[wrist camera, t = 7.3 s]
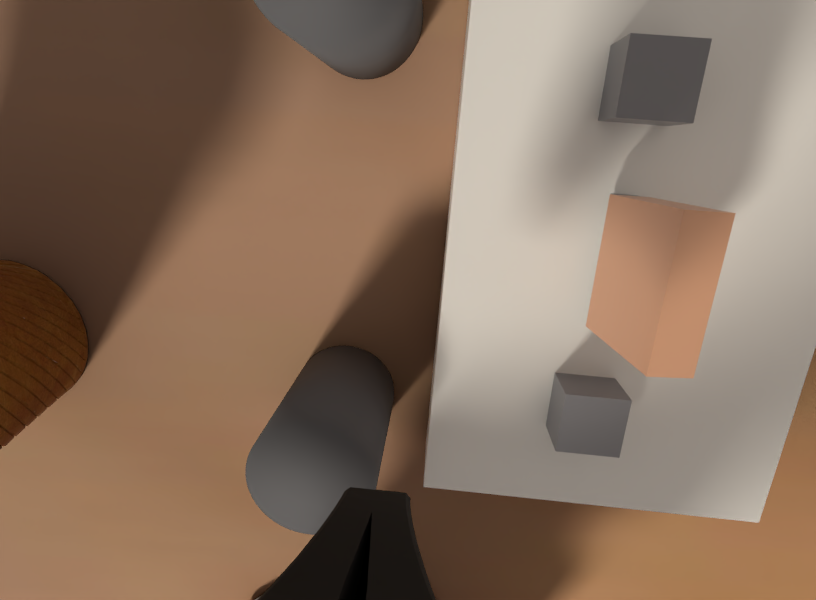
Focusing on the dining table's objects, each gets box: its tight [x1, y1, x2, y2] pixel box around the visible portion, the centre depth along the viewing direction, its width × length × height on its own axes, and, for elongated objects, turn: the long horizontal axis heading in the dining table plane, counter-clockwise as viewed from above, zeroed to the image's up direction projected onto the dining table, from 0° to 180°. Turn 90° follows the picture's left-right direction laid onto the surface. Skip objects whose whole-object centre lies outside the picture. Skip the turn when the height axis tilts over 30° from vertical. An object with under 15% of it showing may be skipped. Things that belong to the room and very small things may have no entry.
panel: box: [423, 0, 816, 523], centre depth 17 cm, size 12×18×5 cm, turn 176°
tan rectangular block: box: [586, 193, 736, 378], centre depth 14 cm, size 1×4×4 cm, turn 175°
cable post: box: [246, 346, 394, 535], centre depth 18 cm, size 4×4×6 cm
